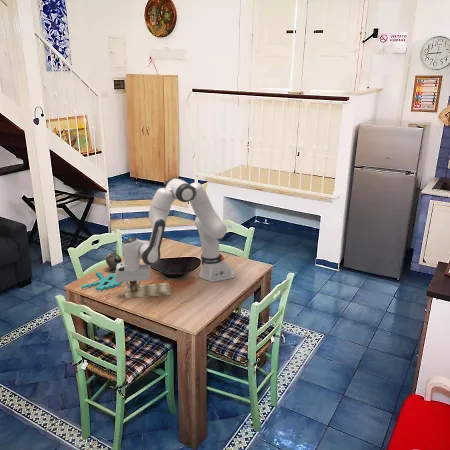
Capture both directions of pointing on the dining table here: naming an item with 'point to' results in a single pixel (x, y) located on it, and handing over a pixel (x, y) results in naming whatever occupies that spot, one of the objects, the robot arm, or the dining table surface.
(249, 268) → the dining table surface
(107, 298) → the dining table surface
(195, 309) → the dining table surface
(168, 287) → the board
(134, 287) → the gauge
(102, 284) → the alien figure
